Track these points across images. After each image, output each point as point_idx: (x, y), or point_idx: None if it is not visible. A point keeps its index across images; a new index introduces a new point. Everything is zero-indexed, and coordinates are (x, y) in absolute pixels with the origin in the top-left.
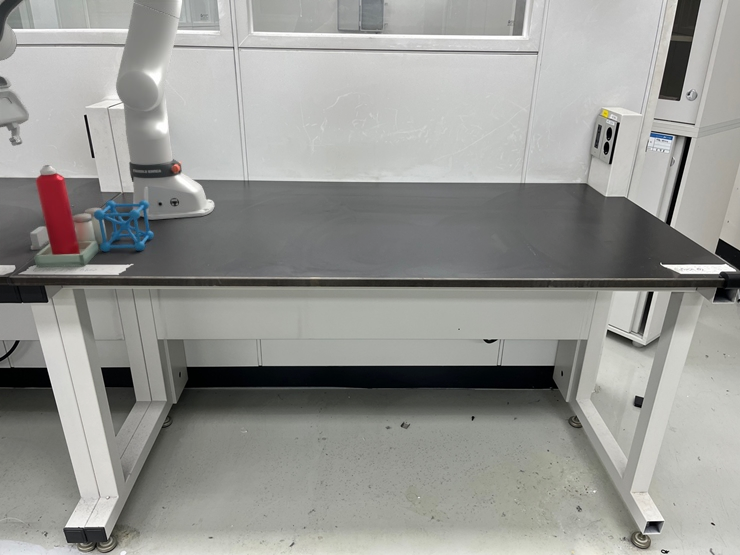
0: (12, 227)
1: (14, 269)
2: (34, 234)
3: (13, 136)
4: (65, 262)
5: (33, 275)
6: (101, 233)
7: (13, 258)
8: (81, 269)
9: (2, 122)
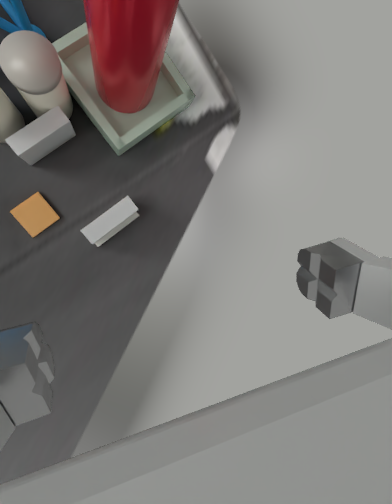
0: (77, 416)
1: (218, 135)
2: (131, 200)
3: (24, 364)
4: None
5: (215, 71)
6: (27, 16)
7: (188, 197)
8: None
9: (87, 456)
